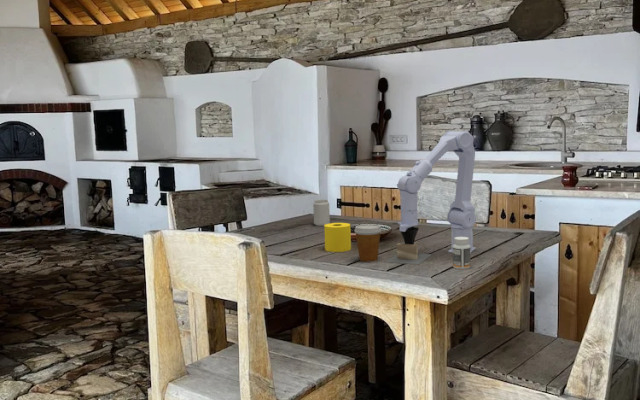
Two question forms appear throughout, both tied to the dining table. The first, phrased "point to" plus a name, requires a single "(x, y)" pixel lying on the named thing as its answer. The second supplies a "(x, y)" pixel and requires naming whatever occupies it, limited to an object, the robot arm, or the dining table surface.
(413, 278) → the dining table surface
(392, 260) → the mat
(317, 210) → the can
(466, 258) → the pill bottle
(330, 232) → the yellow toilet paper roll
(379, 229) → the disposable coffee cup
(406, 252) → the wooden block
